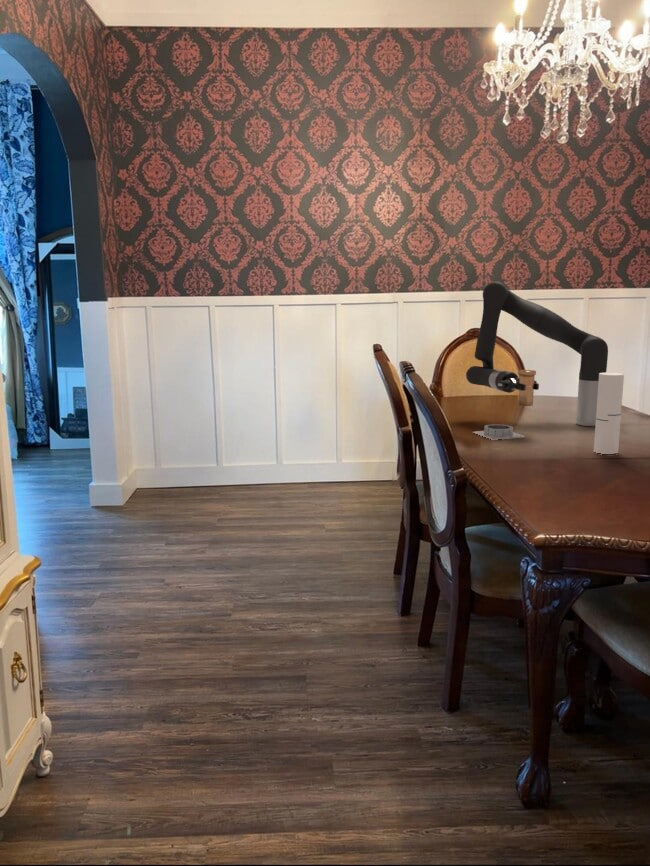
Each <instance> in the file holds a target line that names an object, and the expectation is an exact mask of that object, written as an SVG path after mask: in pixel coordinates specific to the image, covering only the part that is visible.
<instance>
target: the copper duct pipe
mask: <svg viewBox="0 0 650 866" xmlns="http://www.w3.org/2000/svg"><path fill="white" fill-rule="evenodd" d="M518 375H519V377H518V378H519V383H521V384H525V390H524V391H521V390H518V399H517V402H518V403H517V405H518V406H521V407H533V406H534V393H535V392H534V390H535V389H534V380H535V378H536V377H535V376H537V370H533V369H520V370H519V369H518Z"/></svg>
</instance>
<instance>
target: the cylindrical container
mask: <svg viewBox="0 0 650 866" xmlns="http://www.w3.org/2000/svg"><path fill="white" fill-rule="evenodd" d="M624 378H625V374H624V373H621V372H606V373H599V383H598V397H597V412H596V426H594V427H595V429H594V442H593V453H594V452H596V453H595V454H597V453H601V454H600V455H602V454H614V453H618V454H619V444H620V443H619V442H620V433H621V432H620V431H621V420H622V419H621V416H622V407H623V406H622V404H623V394H624V393H623V391H624V382H625V380H624Z"/></svg>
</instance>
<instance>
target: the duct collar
mask: <svg viewBox="0 0 650 866" xmlns="http://www.w3.org/2000/svg"><path fill="white" fill-rule="evenodd" d="M483 426H484V427H483V430H478V431H477V430H476V431H472V434H473V433H475V434H474V435H476V434H478V435H477V436H479V435H480V436H479V437H482V436H483V437H482V438H484V437H486V438H485V439H487V438H489V439H488V440H490V439H491V441H499V440H498V439H502V440H510V439H521V438H526V437H525V435H524V434H520V433H517V432H514V427H513V426H511V425H508V424H497V423H496V424H495V423H494V424H486V425H483Z"/></svg>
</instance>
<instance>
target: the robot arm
mask: <svg viewBox="0 0 650 866" xmlns="http://www.w3.org/2000/svg"><path fill="white" fill-rule="evenodd" d="M482 299H483V301H482V302H483V308H482V309H483V310H482V316H481V317H482V318H481V322H480V327H479V332H478V334H477V339H476V340H477V341H476V345H475V352H474V358H475V359H476V360H478V361H480V362H481V364H482V366H478V365H477V366H476V365H473V366H470V367H469V368H468V369H467V371H466V374H465V377H466V381H467V382H468V383H469V384H472V385H476V386H484V387H488V388H491V389H494V390H496V391H500V392H502V393H507V394H508V393H513V392H515V391H517V390H518V391H519V390H521V391H524V390H525V384H521V383H519V377H518V374H516V373H515V372H512V371H507V370H503V369H495V366H494V353H495V349H496V348H495V346H496V341H497V335H498V334H497V333H498V327H499V320H500V316H501V312H502V311H503V312H505V313H507V314H509V315H511V316H512V317H514V318H515V319H517V321H519V322H521V323H522V324H524V325H525V326H527V327H528V328H529V329H531V330H533V331H535V332H537V333H538V334H540V335H541V336H544V337H546V338H548V339H550V340H552V341H556V342H559V343H561V344H564V345H566V346H567V347H569V348H571V349H572V350H574V351H575V352H576V353H578V354H579V355H580V366H579V367H580V369H579V372H578V373H579V374H578V387H577V388H578V389H577V403H576V419H575V421H576V422H575V424H577V426H585V427H595V426H596V412H597V397H598V383H599V373H607V369H608V368H607V367H608V361H609V360H608V358H609V357H608V356H609V347H608V344H607V342H606V340H604V339H603V338H601V337H599V336H595V335H593V334H591V333H588V332H586V331H584V330H581V328H580V329H579V328H577V327H575V326H574V325H573V324H571V322H569V321H567V320H566V319H565V318H564V317H562V316H561V315H559V314H558V313H556V312H554V311H553V310H550V309H549V308H546V307H544V306H542V305H540V304H537V303H535V302H532V301H530V300H527V299H525V298H522V297H520V296H519V295H517V294H515V293H514V292H512V290H509V289H508V288H507V287H506V286H505V285H504V283H502V282H501V281H492V282H490V283H489V282H488V284H486V285H485V286H484V288H483V291H482ZM539 388H540V384H539V383H538V382H537V380H535V379H534V390H535V391H538V390H539Z"/></svg>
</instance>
